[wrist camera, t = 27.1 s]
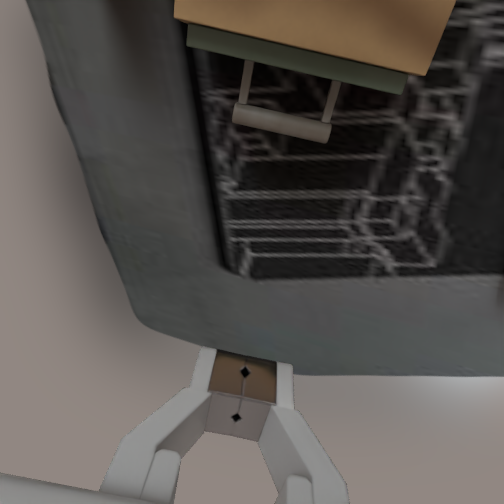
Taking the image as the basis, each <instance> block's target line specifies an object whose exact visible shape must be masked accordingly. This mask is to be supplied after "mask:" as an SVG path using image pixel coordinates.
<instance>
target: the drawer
mask: <svg viewBox="0 0 504 504" xmlns="http://www.w3.org/2000/svg"><path fill="white" fill-rule="evenodd" d="M187 46H189V47H193V48H197V49H202V50H206V51H210V52H215V53H219V54H223V55H228V56H232V57H236V58H241V59H245V64H244V70H243V76H242V82H241V88H240V94H239V100H238V102H236V103H235V106H234V110H233V116H232V123H236V124H240V125H245V126H249V127H254V128H258V129H263V130H267V131H271V132H276V133H280V134H285V135H289V136H294V137H298V138H303V139H307V140H311V141H316V142H320V143H327V141H328V139H329V136H330V132H331V123H330V119H331V116H332V113H333V109H334V106H335V102H336V99H337V96H338V92H339V89H340V86H341V82H345V83H349V84H354V85H358V86H362V87H367V88H371V89H375V90H380V91H384V92H388V93H393V94H397V95H401V94H402V92H403V89H404V87H405V84H406V82H407V79H408V76H409V74H408V73H405V72H400V71H396V70H392V69H387V68H383V67H379V66H374V65H370V64H366V63H362V62H357V61H353V60H349V59H344V58H340V57H336V56H331V55H327V54H323V53H319V52H314V51H310V50H306V49H301V48H297V47H293V46H288V45H284V44H280V43H276V42H271V41H267V40H263V39H258V38H254V37H250V36H246V35H241V34H237V33H233V32H228V31H224V30H220V29H215V28H211V27H207V26H203V25H198V24H194V23H189V24H188V33H187ZM254 62H258V63H262V64H267V65H271V66H276V67H280V68H284V69H289V70H293V71H297V72H302V73H306V74H310V75H315V76H319V77H323V78H328V79H332V81H331V85H330V88H329V92H328V95H327V99H326V102H325V106H324V109H323V113H322V117H321V121H317V120H313V119H309V118H304V117H300V116H295V115H291V114H286V113H282V112H278V111H273V110H269V109H264V108H260V107H256V106H251V105H247V102H248V96H249V90H250V85H251V79H252V73H253V68H254Z"/></svg>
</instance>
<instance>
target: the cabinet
mask: <svg viewBox="0 0 504 504" xmlns="http://www.w3.org/2000/svg"><path fill="white" fill-rule="evenodd" d="M455 2H456V0H175V6H174V18H176V19H178V20H180V21H182V22H185V23H187V24H189V23H194V24H198V25H203V26H207V27H211V28H215V29H220V30H224V31H228V32H233V33H237V34H241V35H246V36H250V37H254V38H258V39H263V40H267V41H271V42H276V43H280V44H284V45H288V46H293V47H297V48H301V49H306V50H310V51H314V52H319V53H323V54H327V55H331V56H336V57H340V58H344V59H349V60H353V61H357V62H362V63H366V64H370V65H374V66H379V67H383V68H387V69H392V70H396V71H400V72H405V73H408V74H409V75H416V76H425V75H426V73H427V71H428V68H429V66H430V63H431V61H432V58H433V56H434V53H435V51H436V49H437V46H438V44H439V41H440V39H441V36H442V34H443V31H444V29H445V27H446V24H447V22H448V19H449V17H450V14H451V12H452V9H453V7H454V5H455Z"/></svg>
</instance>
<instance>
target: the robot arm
mask: <svg viewBox="0 0 504 504" xmlns="http://www.w3.org/2000/svg"><path fill="white" fill-rule="evenodd" d="M216 352H217V353H216ZM204 431H206V432H212V433H218V434H224V435H230V436H235V437H239V438H243V439H248V440H253V441H257V442H258V445H259V448H260V450H261V452H262V455H263V457H264V460H265V462H266V464H267V467H268V469H269V472H270V474H271V476H272V479H273V481H274V484H275V486H276V488H277V491H278V493H279V495H278V497H277V499H276V501H275V503H274V504H350V503H349V497H348V490H347V484H346V482H345V481H344V479H343V477H342V476H341V474H340V473H339V471H338V470H337V468H336V467H335V465H334V464H333V462H332V461H331V459H330V457H329V456H328V455H327V453H326V452H325V450H324V448H323V447H322V445H321V444H320V442H319V440H318V439H317V437H316V436H315V435H314V433H313V431H312V430H311V428H310V427H309V425H308V424H307V422H306V421H305V419H304V417H303V416H302V414H301V413H300V411H298V410H295V409H294V383H293V366H292V364H287V363H282V362H276V361H272V360H267V359H262V358H257V357H252V356H245V355H241V354H236V353H232V352H228V351H224V350H219V349H214V348H209V347H205V346H202V347H201V349H200V352H199V355H198V359H197V362H196V365H195V369H194V372H193V375H192V379H191V382H190V386H189V388H183V389H182V390H180V391H179V392H178V393H177V394H175V395H174V396H173V397H172V398H171V399H169V400H168V401H167V402H166V403H165V404H163V405H162V406H161V407H160V408H158V409H157V410H156V411H155V412H154V413H152V414H151V415H150V416H149V417H148V418H146V419H145V420H144V421H143V422H141V423H140V424H139V425H138V426H137V427H135V428H134V429H133V430H132V431H131V432H129V433H128V434H127V435H126V436H124V437H123V438H122V439H121V441H120V444H119V446H118V448H117V450H116V453H115V455H114V458H113V460H112V462H111V464H110V466H109V469H108V471H107V473H106V475H105V478H104V480H103V482H102V485H101V487H100V489H99V491H92V490H88V489H82V488H77V487H72V486H67V485H61V484H56V483H51V482H46V481H41V480H36V479H30V478H25V477H20V476H14V475H9V474H4V473H0V504H174V499H175V493H176V487H177V480H178V475H179V469H180V463H181V459H182V457H183V456H184V455H185V454H186V453H187V452H188V451H189V449H190V448H191V447H192V446H193V445H194V444H195V442H196V441H197V440H198V439H199V438H200V437H201V436H202V434H203V433H204Z"/></svg>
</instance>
